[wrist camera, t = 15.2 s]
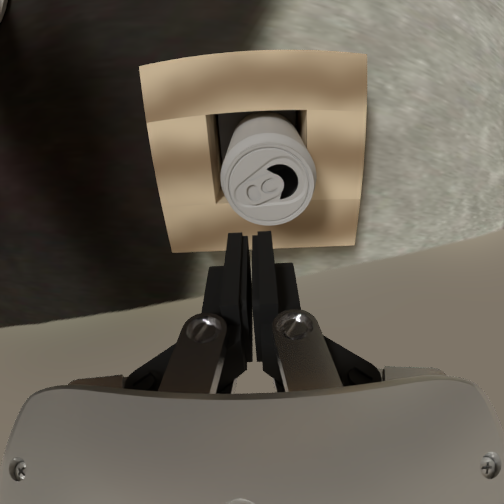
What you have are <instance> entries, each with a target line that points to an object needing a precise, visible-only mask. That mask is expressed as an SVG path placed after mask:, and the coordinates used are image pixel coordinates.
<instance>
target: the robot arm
mask: <svg viewBox="0 0 504 504" xmlns="http://www.w3.org/2000/svg"><path fill="white" fill-rule="evenodd" d="M7 2H8V0H0V23H1V20H2V18H3V16H4V13H5V10H6V6H7ZM257 233H258V235H252V281H251V268H250V256H249V243H248V236H243V234H242V232H238V233H228V238H227V246H226V255H225V263H224V266H212V267H209V272H208V277H207V283H206V289H205V295H204V302H203V307H202V313H201V314H197V315H195V316H193V317H191V318H190V319H188V320H187V321H186V322H185V324H184V326H183V328H182V330H181V333H180V335H179V338H178V340H177V343H176V344H174V345H172V346H171V347H169V348H168V349H167V350H165V351H164V352H162V353H161V354H159V355H158V356H156V357H155V358H153V359H152V360H150V361H149V362H147V363H146V364H144V365H143V366H141V367H140V368H138V369H137V370H135V371H134V372H133V373H131V374H130V375H129V377H124V376H123V375H114V376H105V377H96V378H85V379H77V380H73V381H72V382H70V383H69V384H68V385H60V386H54V387H49V388H45V389H43V390H40V391H38V392H35V393H34V394H32V395H31V396H30V397H29V398H28V399H27V400H26V402H25V403H24V404H23V406H22V408H21V410H20V412H19V414H18V416H17V418H16V420H15V423H14V425H13V428H12V430H11V433H10V436H9V439H8V442H7V445H6V449H5V452H4V456H3V460H2V463H1V468H0V504H504V431H503V428H502V425H501V423H500V420H499V418H498V415H497V413H496V411H495V409H494V407H493V405H492V403H491V401H490V399H489V398H488V396H487V394H486V393H485V392H484V391H483V389H482V388H481V387H480V386H479V385H477V384H476V383H474V382H472V381H470V380H467V379H464V378H460V377H454V376H447V375H446V374H445V373H444V372H443V371H441V370H440V369H436V368H417V367H416V368H415V367H390V366H385V367H384V369H377V368H376V367H375V366H374V365H372V364H371V363H369V362H368V361H366V360H364V359H362V358H361V357H359V356H357V355H355V354H354V353H352V352H350V351H349V350H347V349H345V348H343V347H342V346H340V345H339V344H337V343H335V342H333V341H332V340H330V339H328V338H326V337H325V336H323V335H322V332H321V330H320V327H319V325H318V322H317V320H316V319H315V317H314V316H313V315H311V314H310V313H308V312H306V311H304V310H301V307H300V301H299V295H298V290H297V284H296V277H295V272H294V266H293V263H276V264H275V263H274V253H273V243H272V233H271V231H257ZM252 307H253V320H254V332H255V343H256V355H257V362H263V371H264V372H266V373H267V374H269V375H270V376H271V377H273V384H274V388H275V392H276V393H253V394H234V393H235V388H236V384H237V377H238V376H239V375H241V374H242V373H243V372H244V371H245V370H247V362H252Z"/></svg>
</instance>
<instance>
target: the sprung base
mask: <svg viewBox="0 0 504 504" xmlns="http://www.w3.org/2000/svg"><path fill="white" fill-rule="evenodd" d="M268 111H272V112H276V113H279V114H281V115H283V116H284V117H286V118H287V119H288V120H289V121H291V123H292V124H293V125H294V127H295V129H296V110H268ZM255 112H259V111H247V112H232V113H220V114H218V122H219V132H220V142H221V153H222V162H224V159H225V156H226V153H227V150H228V147H229V144H230V141H231V139H232V136H233V133H234V130H235V128H236V127H237V125H238V124H239V122H240V121H241V120H242V119H244V118H245V117H246V116H248V115H250V114H252V113H255Z"/></svg>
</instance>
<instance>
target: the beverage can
mask: <svg viewBox="0 0 504 504" xmlns="http://www.w3.org/2000/svg"><path fill="white" fill-rule="evenodd" d="M220 179H221V187H222V190H223V193H224V195H225V197H226V199H227V201H228V203H229V204H230V206H231V207H232V209H233V210H234V211H235V212H236V213H237V214H238V215H239V216H241V217H242V218H244V219H245V220H247V221H249V222H252V223H255V224H258V225H266V226H272V225H279V224H283V223H286V222H289V221H291V220H293V219H294V218H296V217H297V216H299V215H300V214H301V213H302V212H303V211H304V210H305V208H306V207H307V206H308V204H309V202H310V200H311V198H312V195H313V193H314V190H315V185H316V179H317V176H316V168H315V164H314V161H313V159H312V157H311V155H310V154H309V152H308V150H307V148H306V146H305V144H304V143H303V141H302V139H301V137H300V136H299V134H298V132H297V130H296V129H295V127H294V125H293V124H292V123H291V121H289V120H288V119H287V118H286V117H284V116H283V115H281V114H279V113H276V112H272V111H259V112H255V113H252V114H250V115H248V116H246V117H245V118H244V119H242V120H241V121H240V122H239V124H238V125H237V127H236V128H235V130H234V133H233V136H232V139H231V141H230V144H229V147H228V150H227V153H226V156H225V159H224V162H223V165H222V168H221V176H220Z"/></svg>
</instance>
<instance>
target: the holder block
mask: <svg viewBox="0 0 504 504" xmlns="http://www.w3.org/2000/svg"><path fill="white" fill-rule="evenodd" d="M139 70H140V78H141V87H142V94H143V102H144V109H145V115H146V122H147V128H148V135H149V141H150V147H151V152H152V158H153V164H154V169H155V174H156V180H157V185H158V190H159V195H160V200H161V204H162V209H163V214H164V218H165V223H166V227H167V232H168V236H169V241H170V245H171V249H172V253H180V252H203V251H226V246H227V238H228V233H238V232H242V234H243V236H248V243H249V250H251V249H252V235H258V233H257V231H271V233H272V243H273V249H276V248H301V247H326V246H351V245H355V239H356V231H357V223H358V215H359V207H360V198H361V188H362V177H363V165H364V152H365V135H366V113H367V54H359V53H349V52H336V51H319V50H259V51H241V52H228V53H218V54H209V55H201V56H194V57H187V58H180V59H174V60H168V61H163V62H158V63H153V64H148V65H143V66H139ZM268 110H296V122H297V132H298V134H299V136H300V137H301V139H302V141H303V143H304V144H305V146H306V148H307V150H308V152H309V154H310V155H311V157H312V159H313V161H314V164H315V168H316V176H317V179H316V185H315V190H314V193H313V195H312V198H311V200H310V202H309V204H308V206H307V207H306V208H305V210H304V211H303V212H302V213H301V214H300V215H299V216H297V217H296V218H294V219H293V220H291V221H289V222H286V223H283V224H279V225H272V226H266V225H258V224H255V223H252V222H249V221H247V220H245V219H244V218H242V217H241V216H239V215H238V214H237V213H236V212H235V211H234V210H233V209H232V207H231V206H230V204H229V203H228V201H227V199H226V197H225V195H224V193H223V190H222V187H221V179H220V176H221V168H222V156H221V146H220V135H219V125H218V114H220V113H232V112H247V111H268Z"/></svg>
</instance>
